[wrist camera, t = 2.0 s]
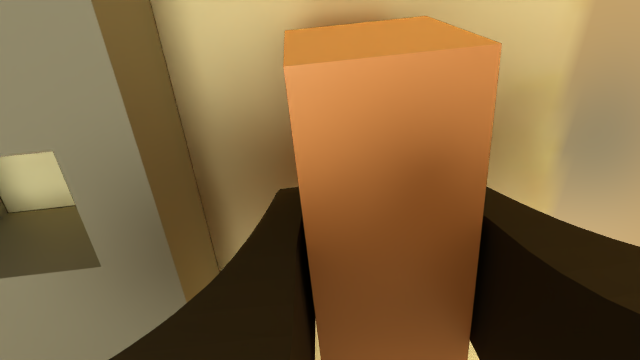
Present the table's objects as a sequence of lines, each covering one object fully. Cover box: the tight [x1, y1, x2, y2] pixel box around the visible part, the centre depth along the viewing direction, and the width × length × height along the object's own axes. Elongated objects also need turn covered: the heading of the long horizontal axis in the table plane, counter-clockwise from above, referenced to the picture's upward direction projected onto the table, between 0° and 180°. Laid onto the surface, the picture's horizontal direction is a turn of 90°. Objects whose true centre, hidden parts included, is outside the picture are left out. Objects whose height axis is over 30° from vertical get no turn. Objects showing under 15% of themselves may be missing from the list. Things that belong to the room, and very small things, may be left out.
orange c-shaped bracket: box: [283, 16, 502, 360], centre depth 11 cm, size 9×3×6 cm, turn 5°
